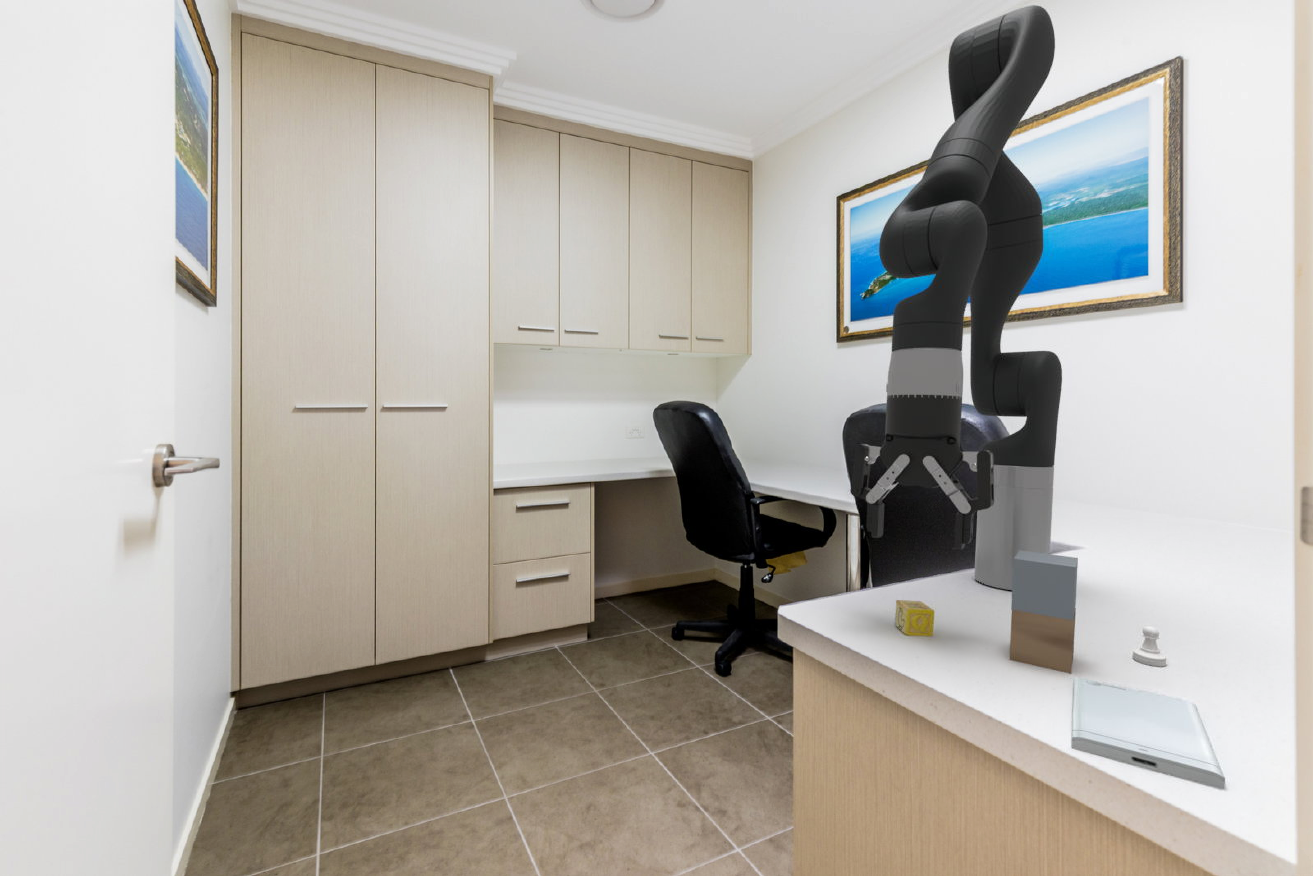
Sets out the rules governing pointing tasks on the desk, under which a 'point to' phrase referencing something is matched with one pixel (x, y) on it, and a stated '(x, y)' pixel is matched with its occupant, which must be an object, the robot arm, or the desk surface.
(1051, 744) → the desk surface
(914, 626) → the alphabet block
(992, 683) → the desk surface
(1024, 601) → the tower top
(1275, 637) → the desk surface
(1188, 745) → the hard drive
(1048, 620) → the block
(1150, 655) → the chess pawn
